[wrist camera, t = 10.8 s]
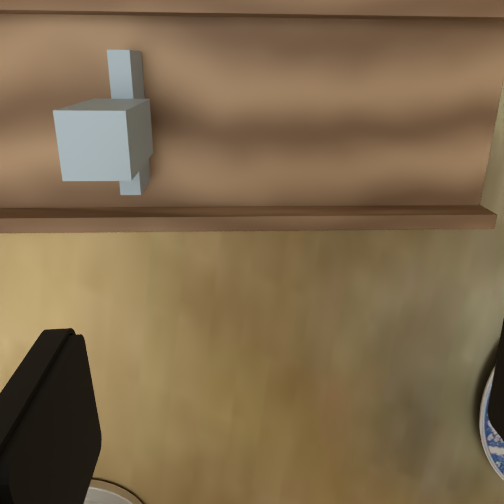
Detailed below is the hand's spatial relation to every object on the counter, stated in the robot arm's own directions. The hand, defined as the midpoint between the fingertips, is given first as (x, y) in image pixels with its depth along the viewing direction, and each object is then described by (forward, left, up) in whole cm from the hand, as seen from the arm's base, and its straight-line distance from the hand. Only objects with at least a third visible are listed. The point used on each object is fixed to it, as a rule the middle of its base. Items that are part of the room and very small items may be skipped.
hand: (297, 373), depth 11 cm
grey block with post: (+3, +7, -23) cm, 25 cm away
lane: (+3, +8, -25) cm, 26 cm away
